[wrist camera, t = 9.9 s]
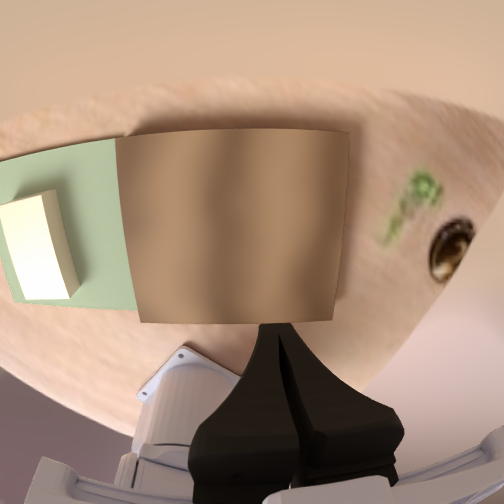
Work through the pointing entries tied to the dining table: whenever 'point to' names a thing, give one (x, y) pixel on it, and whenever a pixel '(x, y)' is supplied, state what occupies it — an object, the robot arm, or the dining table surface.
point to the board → (234, 223)
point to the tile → (39, 246)
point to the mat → (77, 220)
